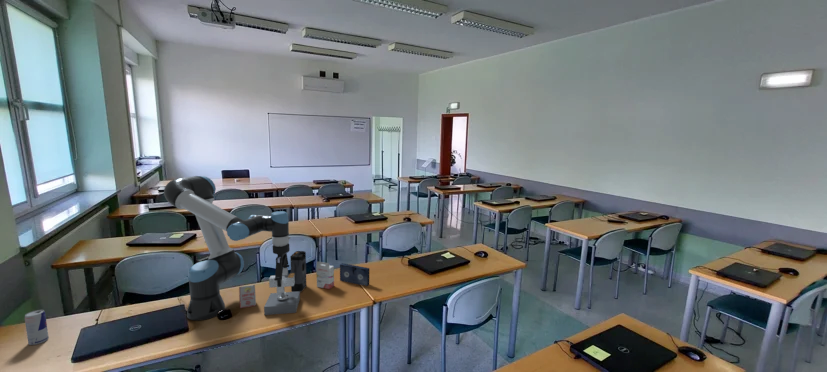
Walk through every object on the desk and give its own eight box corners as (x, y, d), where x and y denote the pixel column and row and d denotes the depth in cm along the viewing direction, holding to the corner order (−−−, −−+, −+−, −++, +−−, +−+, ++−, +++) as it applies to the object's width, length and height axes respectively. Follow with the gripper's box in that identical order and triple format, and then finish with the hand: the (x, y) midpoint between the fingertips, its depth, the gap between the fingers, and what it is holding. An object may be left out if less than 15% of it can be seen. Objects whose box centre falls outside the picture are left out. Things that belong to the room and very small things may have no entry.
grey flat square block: (264, 315, 154) (264, 306, 154) (271, 300, 168) (270, 292, 167) (295, 312, 157) (295, 304, 156) (299, 298, 171) (299, 291, 170)
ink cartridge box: (334, 285, 187) (334, 260, 185) (329, 289, 182) (329, 263, 180) (321, 283, 189) (320, 258, 187) (316, 287, 185) (315, 261, 182)
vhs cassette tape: (369, 284, 189) (369, 267, 188) (367, 286, 187) (367, 269, 185) (342, 278, 196) (342, 262, 195) (339, 280, 193) (339, 264, 192)
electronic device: (301, 292, 177) (300, 256, 174) (290, 292, 177) (289, 256, 175) (307, 285, 186) (306, 251, 184) (296, 284, 187) (295, 250, 184)
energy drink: (52, 337, 134) (49, 309, 132) (38, 345, 129) (34, 316, 127) (39, 337, 134) (35, 309, 132) (24, 345, 128) (19, 316, 127)
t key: (269, 301, 158) (268, 278, 157) (271, 296, 163) (271, 274, 162) (293, 299, 161) (293, 276, 159) (295, 294, 165) (294, 272, 164)
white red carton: (240, 304, 163) (239, 285, 162) (255, 302, 166) (254, 283, 165) (239, 308, 160) (238, 288, 159) (255, 305, 163) (254, 286, 161)
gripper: (284, 252, 147) (286, 297, 150) (293, 236, 171) (294, 275, 174) (266, 253, 145) (268, 298, 148) (277, 236, 169) (279, 276, 172)
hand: (282, 286), depth 161 cm, fingers open, 13 cm apart
